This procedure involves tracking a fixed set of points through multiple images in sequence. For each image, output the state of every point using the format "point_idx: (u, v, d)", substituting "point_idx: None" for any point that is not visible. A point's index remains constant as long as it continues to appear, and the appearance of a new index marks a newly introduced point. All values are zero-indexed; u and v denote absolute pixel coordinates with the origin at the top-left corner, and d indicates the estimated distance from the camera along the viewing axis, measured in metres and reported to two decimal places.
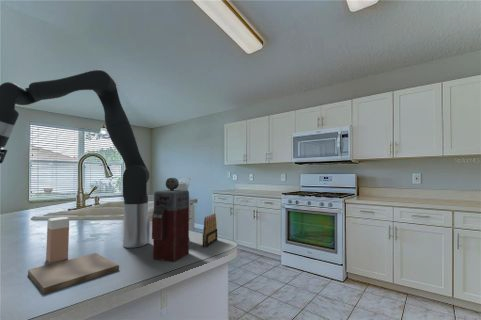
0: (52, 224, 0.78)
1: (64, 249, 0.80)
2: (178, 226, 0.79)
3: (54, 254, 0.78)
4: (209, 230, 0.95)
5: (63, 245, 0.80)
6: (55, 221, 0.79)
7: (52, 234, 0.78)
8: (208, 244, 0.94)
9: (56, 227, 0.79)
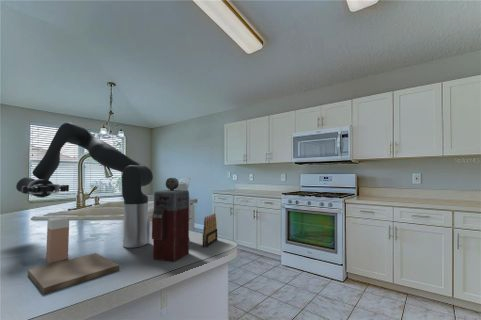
0: (52, 224, 0.78)
1: (64, 249, 0.80)
2: (178, 226, 0.79)
3: (54, 254, 0.78)
4: (209, 230, 0.95)
5: (63, 245, 0.80)
6: (55, 221, 0.79)
7: (52, 234, 0.78)
8: (208, 244, 0.94)
9: (56, 227, 0.79)
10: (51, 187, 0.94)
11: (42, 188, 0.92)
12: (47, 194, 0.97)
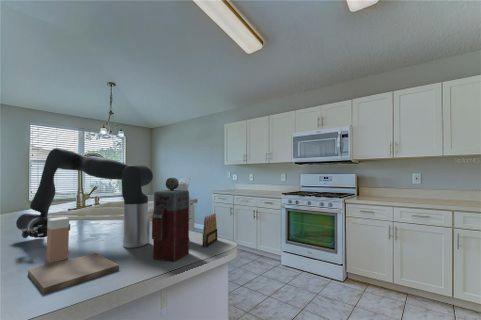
0: (52, 224, 0.78)
1: (64, 249, 0.80)
2: (178, 226, 0.79)
3: (54, 254, 0.78)
4: (209, 230, 0.95)
5: (63, 245, 0.80)
6: (55, 221, 0.79)
7: (52, 234, 0.78)
8: (208, 244, 0.94)
9: (56, 227, 0.79)
10: None
11: (43, 230, 0.89)
12: None
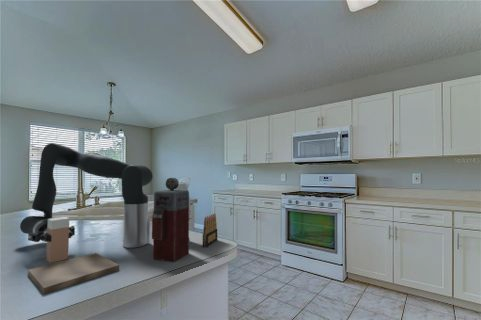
0: (52, 224, 0.78)
1: (64, 249, 0.80)
2: (178, 226, 0.79)
3: (54, 254, 0.78)
4: (209, 230, 0.95)
5: (63, 245, 0.80)
6: (55, 221, 0.79)
7: (52, 234, 0.78)
8: (208, 244, 0.94)
9: (56, 227, 0.79)
10: None
11: None
12: None
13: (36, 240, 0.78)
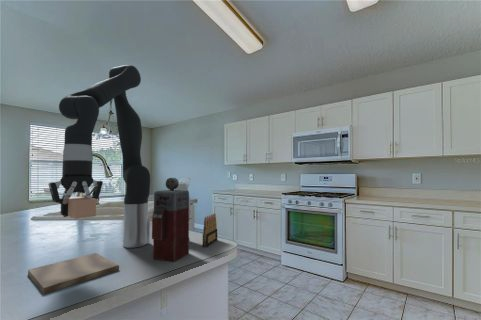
0: None
1: None
2: (178, 226, 0.79)
3: None
4: (209, 230, 0.95)
5: None
6: None
7: None
8: (208, 244, 0.94)
9: None
10: None
11: None
12: (74, 175, 0.69)
13: None
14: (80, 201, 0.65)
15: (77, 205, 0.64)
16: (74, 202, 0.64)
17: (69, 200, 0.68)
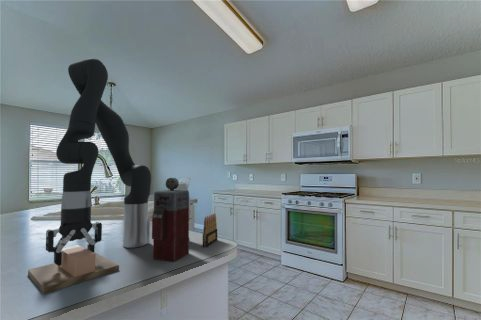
0: None
1: None
2: (178, 226, 0.79)
3: None
4: (209, 230, 0.95)
5: None
6: None
7: None
8: (208, 244, 0.94)
9: None
10: None
11: None
12: None
13: None
14: (79, 258, 0.64)
15: (76, 263, 0.63)
16: (74, 260, 0.64)
17: (67, 255, 0.67)
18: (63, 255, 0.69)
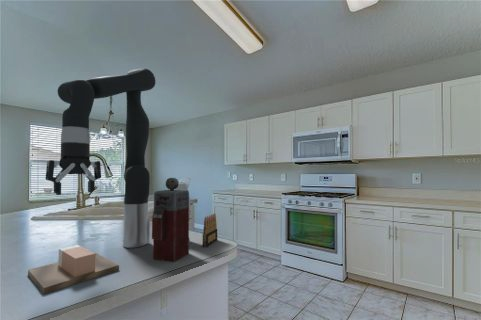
0: None
1: None
2: (178, 226, 0.79)
3: None
4: (209, 230, 0.95)
5: None
6: None
7: None
8: (208, 244, 0.94)
9: None
10: None
11: None
12: (73, 156, 0.71)
13: None
14: (79, 258, 0.64)
15: (76, 263, 0.63)
16: (74, 260, 0.64)
17: (67, 255, 0.67)
18: (63, 255, 0.69)
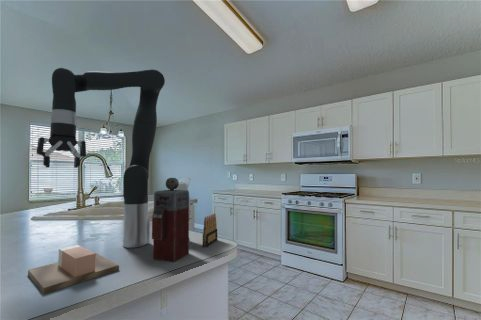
0: None
1: None
2: (178, 226, 0.79)
3: None
4: (209, 230, 0.95)
5: None
6: None
7: None
8: (208, 244, 0.94)
9: None
10: (57, 150, 0.84)
11: None
12: (60, 135, 0.83)
13: None
14: (79, 258, 0.64)
15: (76, 263, 0.63)
16: (74, 260, 0.64)
17: (67, 255, 0.67)
18: (63, 255, 0.69)
